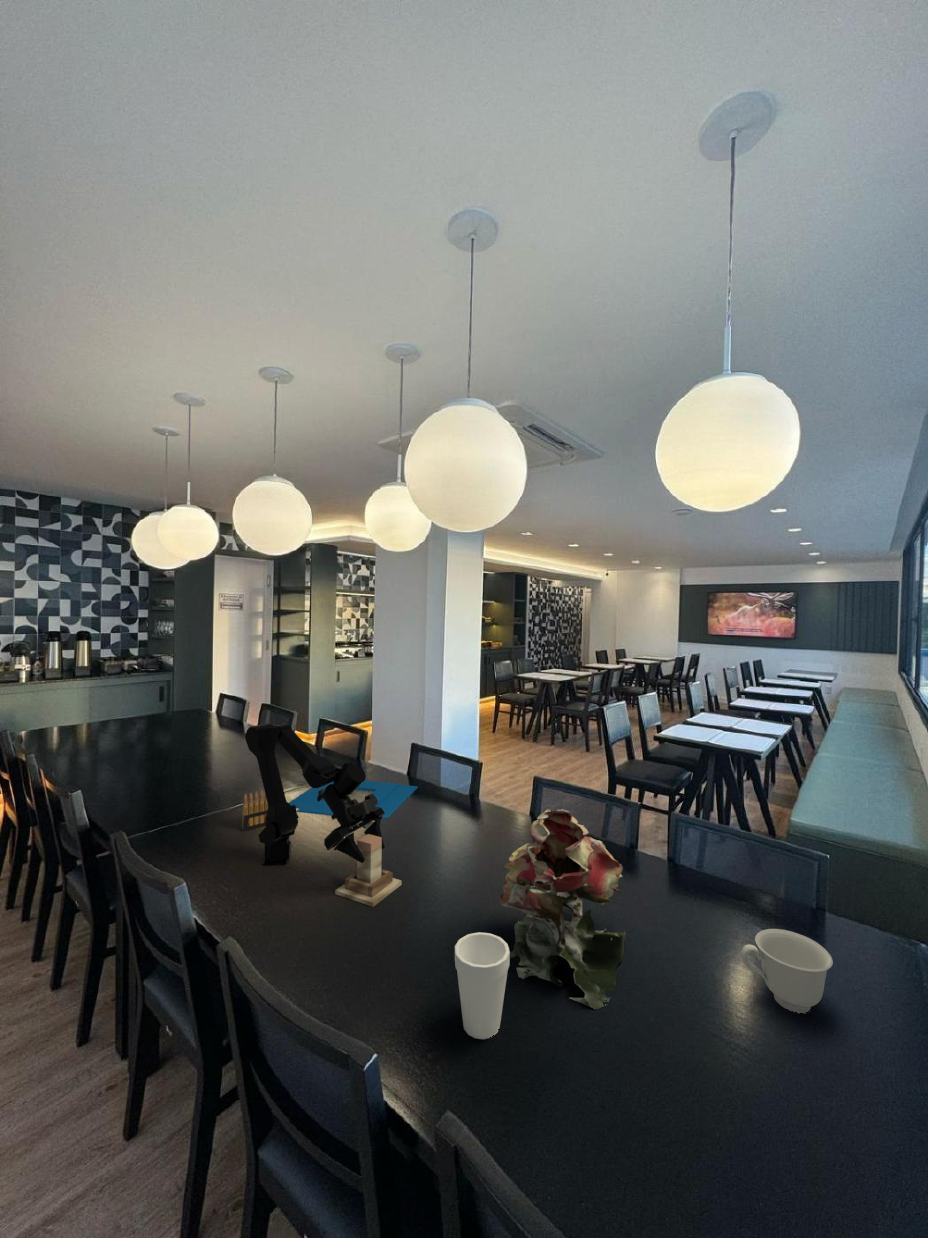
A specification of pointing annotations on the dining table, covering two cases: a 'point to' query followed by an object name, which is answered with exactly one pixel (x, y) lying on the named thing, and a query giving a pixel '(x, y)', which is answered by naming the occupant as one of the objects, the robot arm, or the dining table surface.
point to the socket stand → (368, 888)
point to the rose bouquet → (557, 879)
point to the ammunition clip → (254, 812)
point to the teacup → (790, 967)
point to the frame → (385, 793)
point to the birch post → (370, 858)
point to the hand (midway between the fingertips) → (373, 855)
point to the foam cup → (482, 981)
